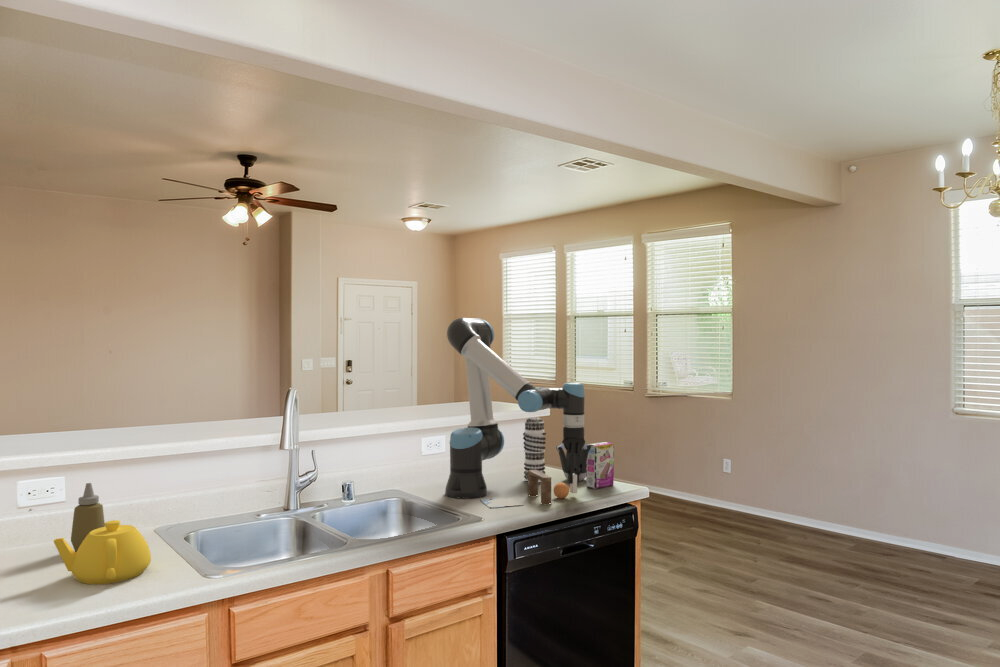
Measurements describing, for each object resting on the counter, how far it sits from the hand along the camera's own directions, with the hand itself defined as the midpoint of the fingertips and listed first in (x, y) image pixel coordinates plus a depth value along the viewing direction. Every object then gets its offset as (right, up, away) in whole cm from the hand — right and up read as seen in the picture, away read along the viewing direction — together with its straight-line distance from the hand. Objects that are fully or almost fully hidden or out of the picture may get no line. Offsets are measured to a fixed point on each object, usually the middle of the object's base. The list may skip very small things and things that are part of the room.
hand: (573, 492), depth 239 cm
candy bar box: (+12, -2, +17) cm, 21 cm away
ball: (-5, +1, -2) cm, 5 cm away
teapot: (-120, -1, -80) cm, 145 cm away
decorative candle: (-12, -2, +28) cm, 31 cm away
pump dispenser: (+4, -2, +29) cm, 30 cm away
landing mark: (-26, -2, -9) cm, 27 cm away
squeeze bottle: (-136, -2, -60) cm, 149 cm away
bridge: (-12, -2, -4) cm, 13 cm away
